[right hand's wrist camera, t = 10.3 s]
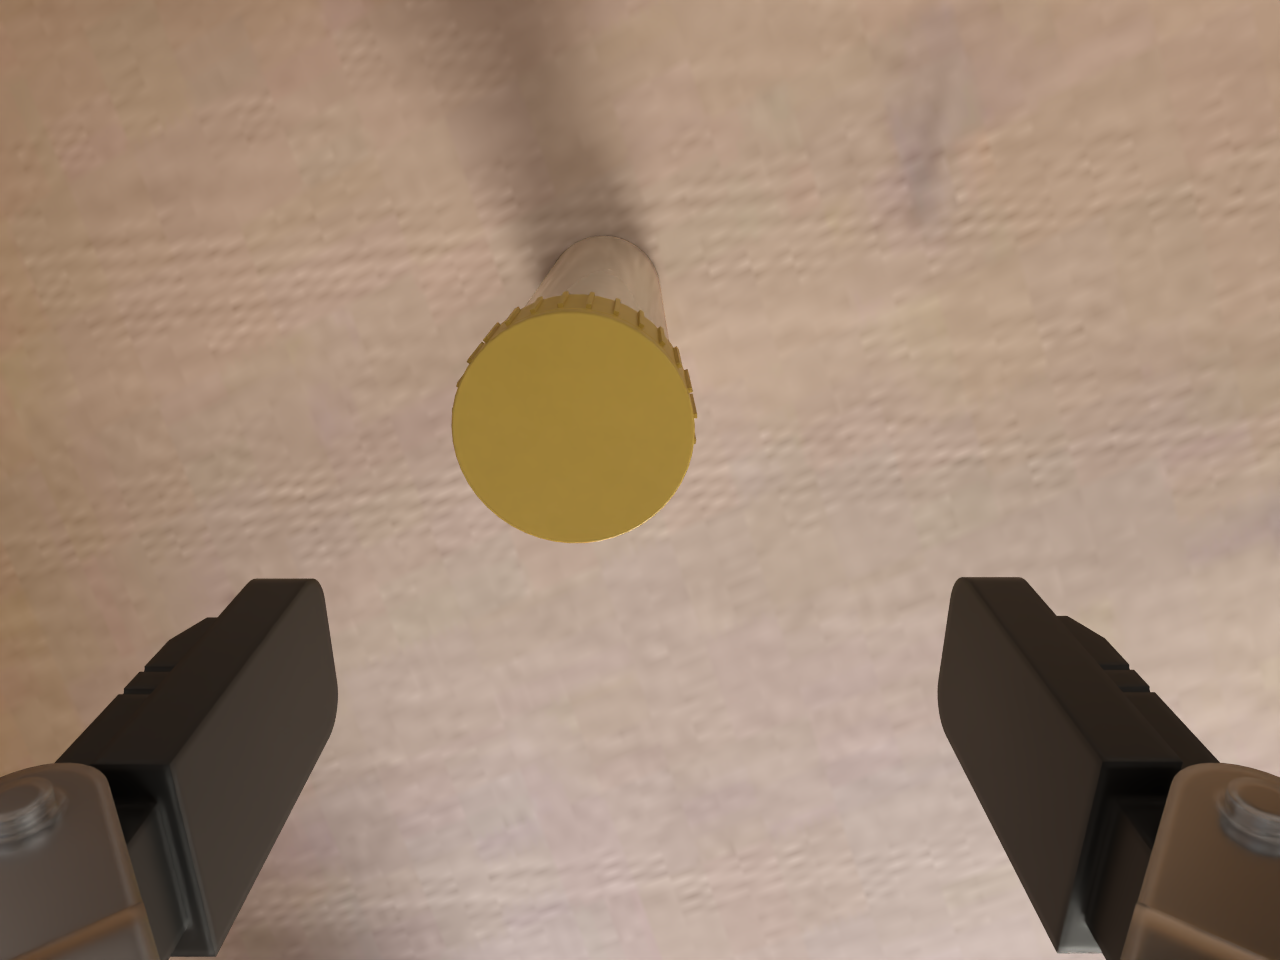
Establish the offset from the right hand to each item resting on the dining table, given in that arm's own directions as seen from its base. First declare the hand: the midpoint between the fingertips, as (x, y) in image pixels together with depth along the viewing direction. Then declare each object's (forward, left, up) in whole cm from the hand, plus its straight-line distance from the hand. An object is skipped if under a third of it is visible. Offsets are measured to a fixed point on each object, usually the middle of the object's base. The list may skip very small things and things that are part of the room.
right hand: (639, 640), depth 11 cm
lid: (-1, +1, -7) cm, 7 cm away
